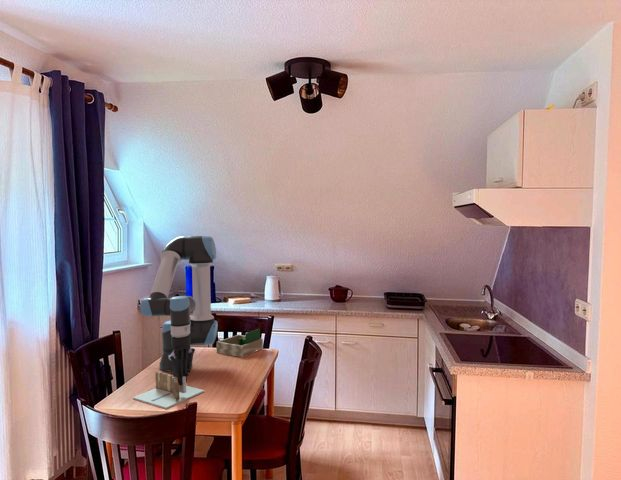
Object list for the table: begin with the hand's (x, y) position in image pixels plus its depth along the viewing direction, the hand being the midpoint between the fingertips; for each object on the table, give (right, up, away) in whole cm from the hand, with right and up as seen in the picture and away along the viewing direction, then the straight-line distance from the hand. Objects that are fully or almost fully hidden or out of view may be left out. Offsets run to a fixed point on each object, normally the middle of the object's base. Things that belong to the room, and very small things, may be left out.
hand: (182, 392), depth 179 cm
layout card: (-6, -2, +3) cm, 7 cm away
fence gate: (-3, -1, -1) cm, 3 cm away
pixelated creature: (+16, 0, +66) cm, 67 cm away
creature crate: (+13, 0, +65) cm, 66 cm away
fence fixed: (-9, -2, +7) cm, 12 cm away
